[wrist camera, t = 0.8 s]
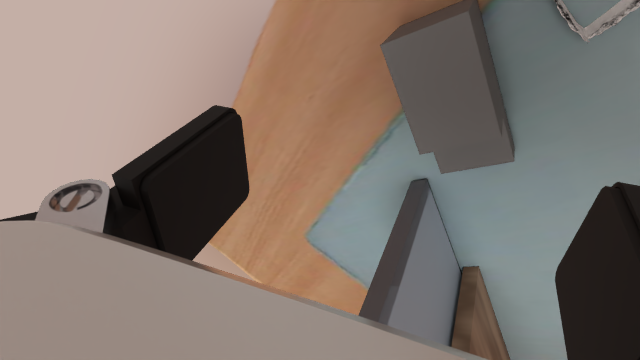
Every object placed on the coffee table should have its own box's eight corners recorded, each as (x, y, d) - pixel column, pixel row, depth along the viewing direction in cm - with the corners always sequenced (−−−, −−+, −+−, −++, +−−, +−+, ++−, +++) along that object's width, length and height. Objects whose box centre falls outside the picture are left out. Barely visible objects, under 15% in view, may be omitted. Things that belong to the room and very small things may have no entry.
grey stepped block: (476, -5, 28) (468, 10, 23) (514, 147, 33) (513, 184, 28) (399, 26, 31) (380, 45, 27) (445, 160, 36) (434, 195, 32)
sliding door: (426, 179, 38) (375, 329, 24) (468, 294, 44) (447, 467, 30) (411, 181, 38) (353, 327, 25) (454, 294, 44) (427, 462, 31)
